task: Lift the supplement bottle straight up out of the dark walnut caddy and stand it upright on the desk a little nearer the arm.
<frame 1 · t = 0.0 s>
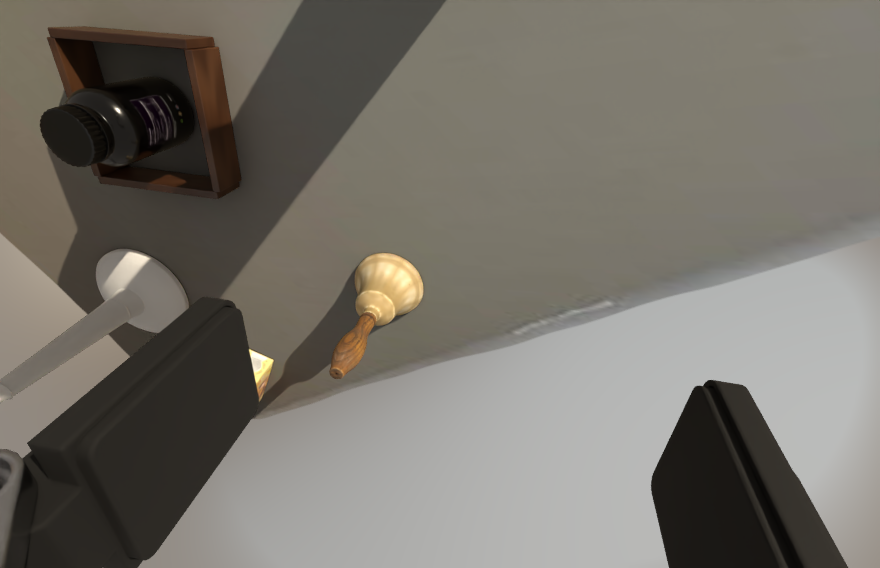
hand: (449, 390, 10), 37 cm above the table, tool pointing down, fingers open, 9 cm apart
supplement bottle: (168, 111, 48), resting in walnut caddy
candlestick: (145, 290, 61), on the table
hand bell: (389, 283, 53), on the table
walnut caddy: (166, 111, 47), on the table
candy box: (257, 372, 65), on the table
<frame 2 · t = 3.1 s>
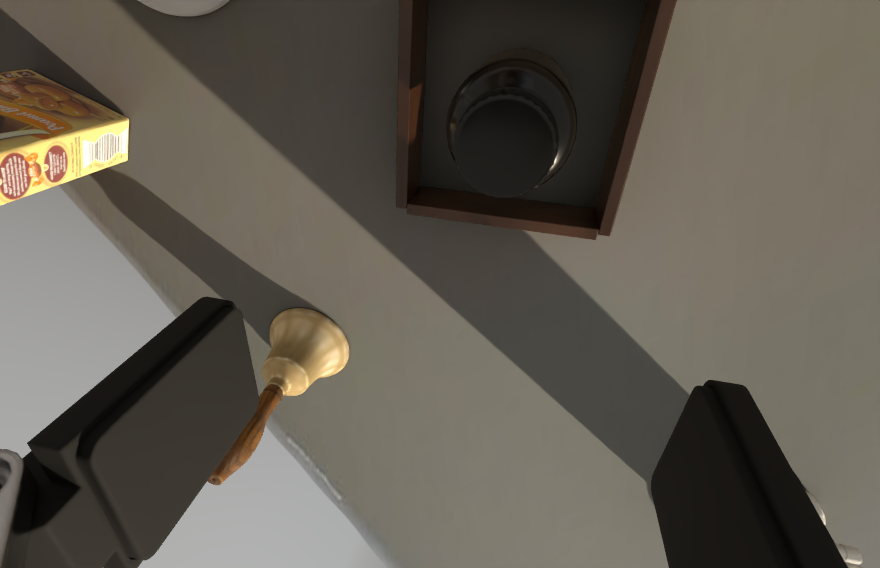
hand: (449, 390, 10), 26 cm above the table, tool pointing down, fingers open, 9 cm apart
supplement bottle: (518, 104, 31), resting in walnut caddy
hand bell: (310, 341, 45), on the table
walnut caddy: (518, 104, 31), on the table
candy box: (83, 116, 38), on the table
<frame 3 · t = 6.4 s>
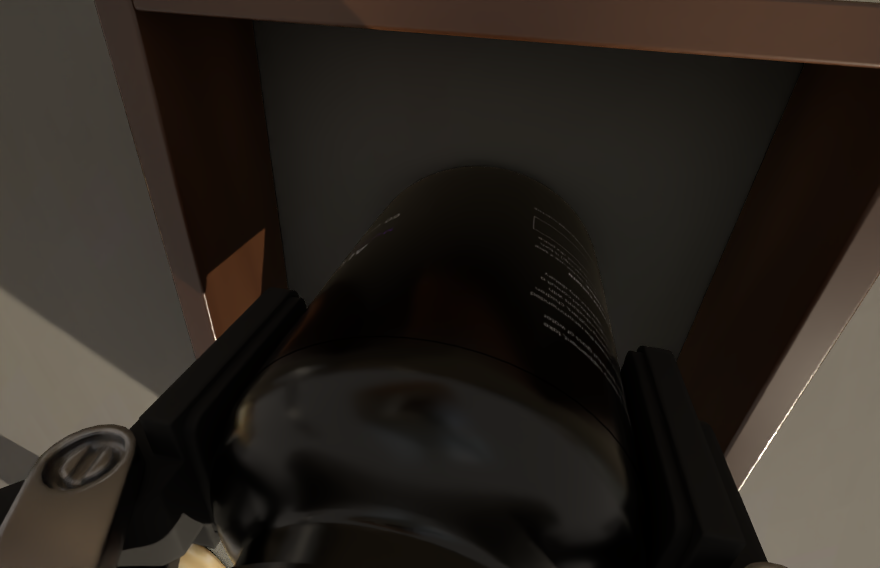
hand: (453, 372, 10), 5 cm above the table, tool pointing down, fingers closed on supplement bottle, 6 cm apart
supplement bottle: (479, 267, 14), resting in walnut caddy, touching gripper
hand bell: (174, 558, 29), on the table
walnut caddy: (479, 270, 14), on the table
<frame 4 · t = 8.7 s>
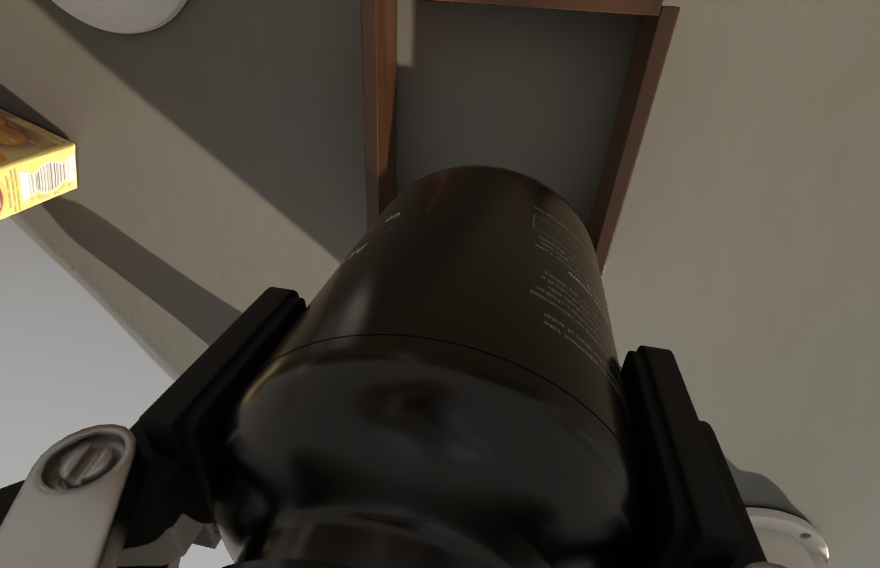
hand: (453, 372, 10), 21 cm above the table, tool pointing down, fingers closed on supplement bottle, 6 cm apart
supplement bottle: (480, 266, 14), point 16 cm above the table, touching gripper
walnut caddy: (500, 130, 28), on the table
candy box: (25, 140, 34), on the table
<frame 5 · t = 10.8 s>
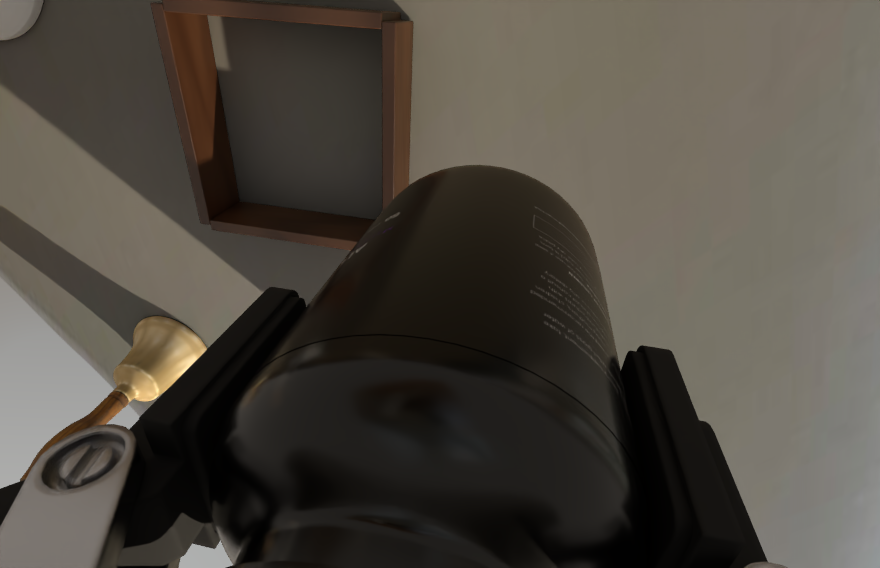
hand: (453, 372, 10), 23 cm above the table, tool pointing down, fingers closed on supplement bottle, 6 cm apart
supplement bottle: (479, 266, 14), point 19 cm above the table, touching gripper
hand bell: (175, 347, 47), on the table
walnut caddy: (309, 125, 32), on the table
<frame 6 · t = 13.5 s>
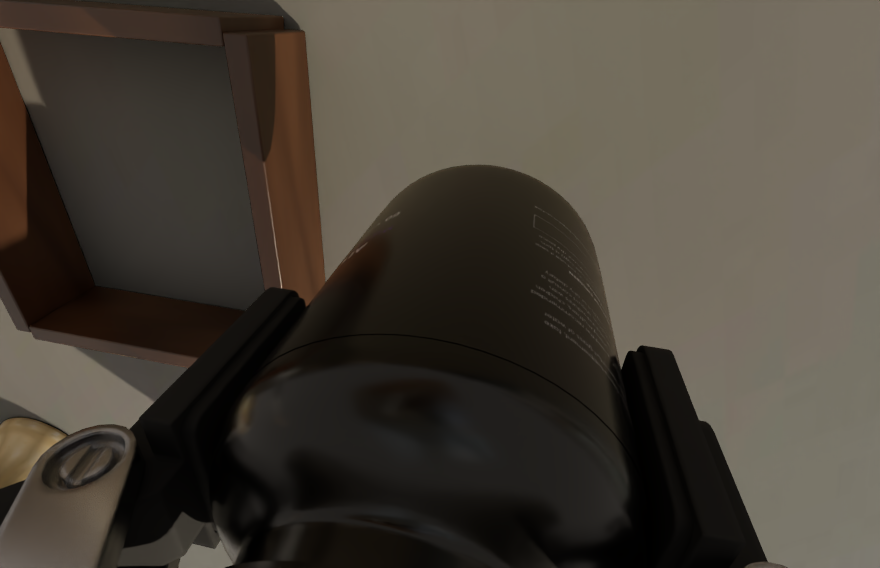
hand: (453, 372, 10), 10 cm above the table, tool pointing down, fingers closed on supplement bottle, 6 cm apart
supplement bottle: (480, 266, 14), point 5 cm above the table, touching gripper
hand bell: (53, 452, 36), on the table
walnut caddy: (172, 187, 21), on the table
when the fingers open (5 cm above the table, at t = 15.4 s): supplement bottle stays where it is, on the table.
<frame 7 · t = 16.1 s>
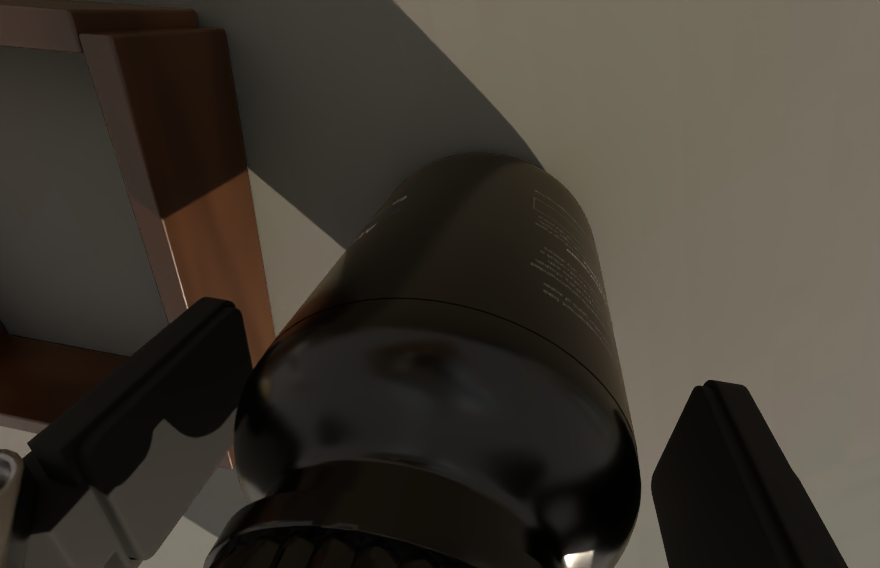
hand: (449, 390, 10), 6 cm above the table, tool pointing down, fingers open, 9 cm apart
supplement bottle: (482, 252, 15), on the table
walnut caddy: (81, 224, 17), on the table
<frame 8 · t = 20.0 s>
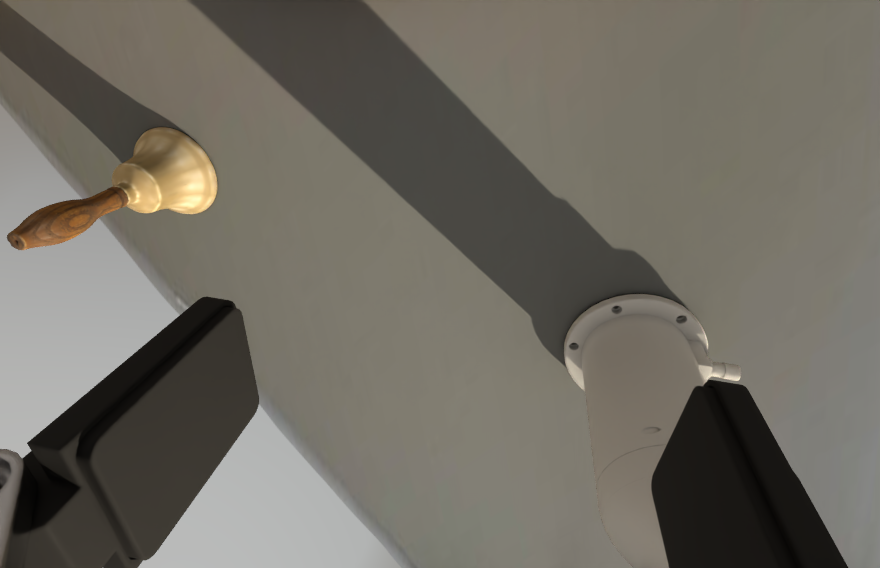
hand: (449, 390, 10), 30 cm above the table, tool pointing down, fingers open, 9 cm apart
hand bell: (178, 171, 44), on the table
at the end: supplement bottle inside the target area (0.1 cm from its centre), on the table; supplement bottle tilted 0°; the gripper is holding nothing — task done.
